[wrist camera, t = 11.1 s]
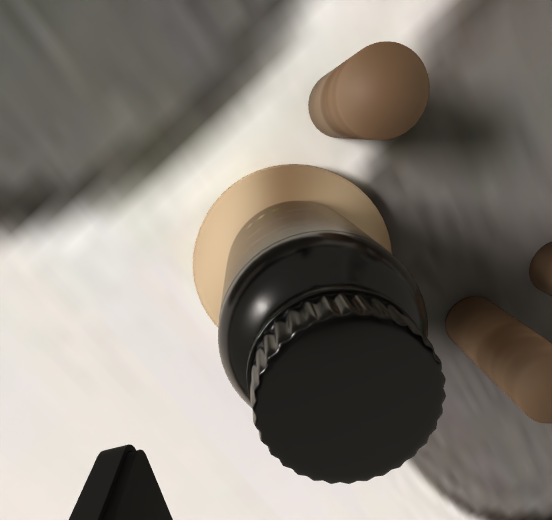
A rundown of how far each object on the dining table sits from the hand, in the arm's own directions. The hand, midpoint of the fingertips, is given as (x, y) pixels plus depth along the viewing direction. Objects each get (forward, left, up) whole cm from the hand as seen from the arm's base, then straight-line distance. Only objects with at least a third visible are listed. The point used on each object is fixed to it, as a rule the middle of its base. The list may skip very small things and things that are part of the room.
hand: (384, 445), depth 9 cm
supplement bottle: (0, 0, -14) cm, 14 cm away
